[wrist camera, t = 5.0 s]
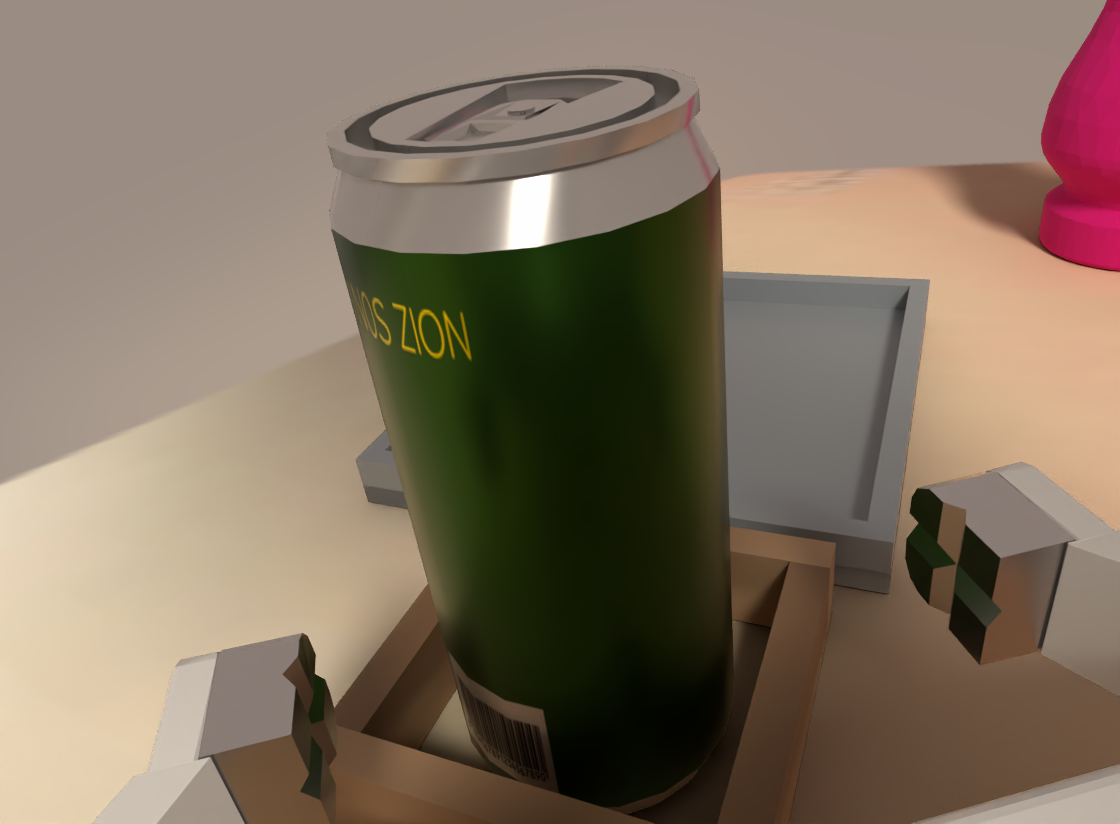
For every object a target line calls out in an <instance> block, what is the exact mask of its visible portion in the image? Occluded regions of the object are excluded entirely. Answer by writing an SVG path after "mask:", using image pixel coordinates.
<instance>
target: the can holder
mask: <svg viewBox="0 0 1120 824" xmlns="http://www.w3.org/2000/svg"><path fill="white" fill-rule="evenodd" d="M835 548H836V543H833V542H826V541H820V540H814V539H807V538H801V537H795V536H788V535H782V534H776V533H770V532H763V531H757V530H751V529H744V528H738V527H732V526H730V557H731V594H732V619H734V620H739V621H744V622H749V623H754V624H759V625H764V626H769V627H772V628H771V632H770V636H769V639H768V643H767V646H766V650H765V654H764V657H763V661H762V664H761V668H760V672H759V675H758V679H757V682H756V686H755V690H754V693H753V697H752V700H751V704H750V708H749V711H748V715H747V719H746V722H745V726H744V729H743V733H742V737H741V740H740V744H739V747H738V751H737V755H736V758H735V762H734V765H733V769H732V773H731V776H730V780H729V784H728V787H727V791H726V794H725V798H724V802H723V805H722V809H721V812H720V816H719V820H718V823H717V824H789V819H790V814H791V809H792V804H793V799H794V795H795V790H796V785H797V780H798V775H799V770H800V765H801V761H802V756H803V751H804V746H805V741H806V736H807V731H808V726H809V722H810V717H811V712H812V707H813V702H814V697H815V692H816V687H817V683H818V678H819V673H820V668H821V663H822V658H823V653H824V648H825V644H826V639H827V634H828V629H829V624H830V619H831V614H832V602H833V584H834V566H835ZM456 689H457V687H456V683H455V679H454V676H453V672H452V668H451V665H450V661H449V657H448V654H447V650H446V646H445V643H444V639H443V635H442V632H441V628H440V624H439V621H438V617H437V613H436V610H435V606H434V602H433V599H432V595H431V592H430V588H429V584H427V586H426V587H425V588H424V590H423V591H422V592H421V594H420V595H419V596H418V598H417V599H416V600H415V602H414V603H413V604H412V606H411V607H410V608H409V610H408V611H407V612H406V614H405V615H404V616H403V618H402V619H401V620H400V622H399V623H398V624H397V626H396V627H395V628H394V630H393V631H392V632H391V634H390V635H389V636H388V638H387V639H386V640H385V642H384V643H383V644H382V646H381V647H380V648H379V650H378V651H377V652H376V654H375V655H374V656H373V658H372V659H371V660H370V662H369V663H368V664H367V666H366V667H365V668H364V670H363V671H362V672H361V674H360V675H359V676H358V678H357V679H356V680H355V682H354V683H353V684H352V686H351V687H350V688H349V690H348V691H347V692H346V694H345V695H344V696H343V698H342V699H341V700H340V702H339V703H338V704H337V706H336V707H335V708H334V711H335V719H336V727H337V756H336V757H335V759H334V760H333V761H332V763H331V764H330V766H329V768H330V771H331V773H332V776H333V779H334V781H335V784H336V821H335V824H655V823H652V822H648V821H645V820H642V819H639V818H636V817H632V816H629V815H626V814H623V813H619V812H616V811H613V810H610V809H606V808H603V807H600V806H597V805H593V804H590V803H587V802H584V801H580V800H577V799H574V798H571V797H567V796H564V795H561V794H558V793H554V792H551V791H548V790H545V789H541V788H538V787H535V786H532V785H528V784H525V783H522V782H519V781H515V780H512V779H509V778H506V777H502V776H499V775H496V774H493V773H490V772H486V771H483V770H480V769H477V768H473V767H470V766H467V765H464V764H460V763H457V762H454V761H451V760H447V759H444V758H441V757H438V756H434V755H431V754H428V753H425V752H421V751H418V749H419V748H420V746H421V745H422V743H423V741H424V740H425V738H426V737H427V735H428V733H429V732H430V730H431V729H432V727H433V725H434V724H435V722H436V721H437V719H438V717H439V716H440V714H441V713H442V711H443V709H444V708H445V706H446V705H447V703H448V701H449V700H450V698H451V697H452V695H453V693H454V692H455V690H456Z"/></svg>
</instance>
